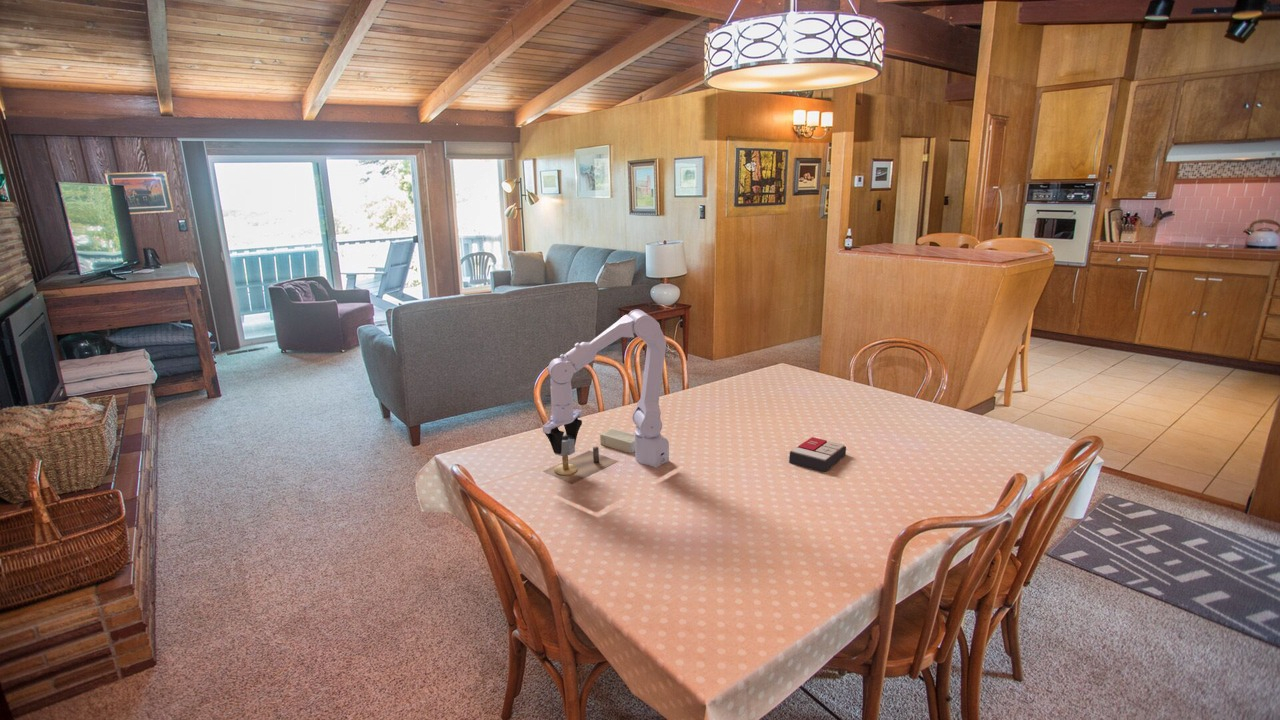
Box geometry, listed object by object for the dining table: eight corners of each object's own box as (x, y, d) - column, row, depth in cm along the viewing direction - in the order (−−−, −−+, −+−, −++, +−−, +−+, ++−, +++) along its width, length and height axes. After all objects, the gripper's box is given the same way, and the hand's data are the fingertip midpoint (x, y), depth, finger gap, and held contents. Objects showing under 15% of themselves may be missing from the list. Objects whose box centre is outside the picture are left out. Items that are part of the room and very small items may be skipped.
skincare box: (600, 446, 191) (630, 457, 184) (599, 433, 190) (630, 443, 182) (613, 440, 196) (643, 449, 188) (613, 427, 194) (643, 436, 187)
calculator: (847, 443, 181) (826, 459, 170) (845, 457, 182) (825, 473, 171) (811, 435, 188) (789, 449, 176) (810, 448, 189) (788, 463, 177)
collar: (578, 449, 173) (577, 436, 172) (566, 457, 168) (565, 443, 167) (563, 446, 176) (562, 432, 174) (550, 453, 171) (549, 439, 170)
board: (618, 464, 179) (618, 445, 177) (572, 487, 166) (571, 467, 164) (589, 453, 186) (588, 435, 185) (543, 474, 173) (541, 455, 172)
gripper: (567, 392, 176) (569, 437, 180) (532, 408, 164) (535, 455, 168) (587, 396, 172) (589, 442, 176) (553, 412, 161) (556, 461, 164)
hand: (564, 449), depth 172 cm, fingers closed on collar, 5 cm apart
